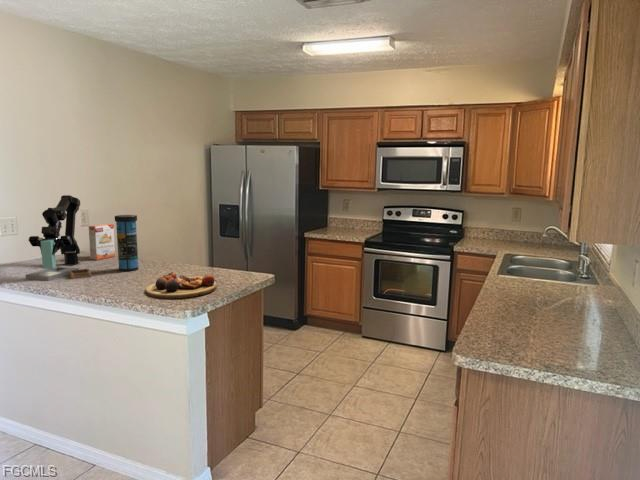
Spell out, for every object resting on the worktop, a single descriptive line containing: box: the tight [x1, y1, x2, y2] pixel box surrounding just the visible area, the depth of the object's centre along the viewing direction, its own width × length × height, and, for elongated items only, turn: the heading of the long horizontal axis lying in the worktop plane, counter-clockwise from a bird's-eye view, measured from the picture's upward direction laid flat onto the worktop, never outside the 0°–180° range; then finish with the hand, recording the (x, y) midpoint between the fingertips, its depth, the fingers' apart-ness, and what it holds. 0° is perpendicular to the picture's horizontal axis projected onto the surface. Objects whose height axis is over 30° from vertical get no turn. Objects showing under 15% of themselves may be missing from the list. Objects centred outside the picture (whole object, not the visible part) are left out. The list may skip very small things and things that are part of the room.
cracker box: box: [88, 223, 116, 261], centre depth 278 cm, size 14×6×21 cm, turn 157°
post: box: [40, 240, 57, 270], centre depth 228 cm, size 4×4×14 cm
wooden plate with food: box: [145, 271, 217, 300], centre depth 211 cm, size 32×32×8 cm
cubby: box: [68, 268, 92, 280], centre depth 234 cm, size 9×9×2 cm
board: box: [25, 266, 80, 281], centre depth 235 cm, size 14×20×2 cm
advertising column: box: [114, 214, 139, 273], centre depth 247 cm, size 11×11×30 cm
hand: (47, 254), depth 227 cm, fingers closed on post, 4 cm apart
